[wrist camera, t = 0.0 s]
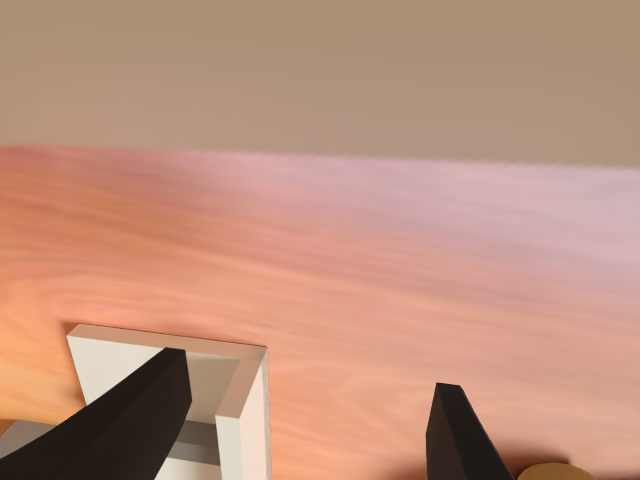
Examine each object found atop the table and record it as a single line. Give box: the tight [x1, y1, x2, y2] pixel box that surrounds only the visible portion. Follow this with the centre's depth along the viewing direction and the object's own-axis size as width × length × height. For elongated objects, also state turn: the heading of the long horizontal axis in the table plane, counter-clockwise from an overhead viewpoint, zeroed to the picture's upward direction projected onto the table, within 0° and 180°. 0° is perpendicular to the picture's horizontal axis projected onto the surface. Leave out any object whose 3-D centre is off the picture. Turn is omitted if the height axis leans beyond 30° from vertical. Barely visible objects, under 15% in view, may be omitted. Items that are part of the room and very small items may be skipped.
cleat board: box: [66, 324, 271, 480], centre depth 26 cm, size 13×12×5 cm
